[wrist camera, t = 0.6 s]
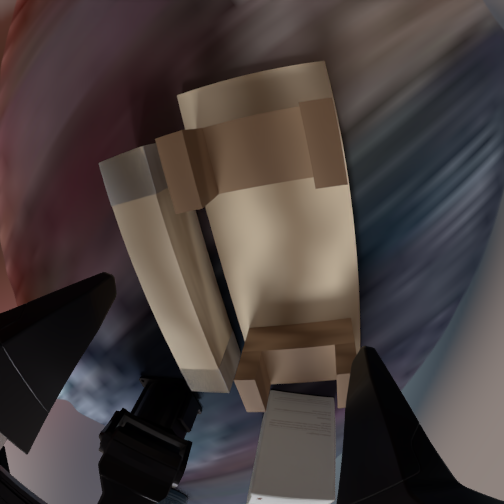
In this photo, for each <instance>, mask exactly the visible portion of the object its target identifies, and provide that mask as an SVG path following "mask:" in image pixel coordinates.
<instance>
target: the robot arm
mask: <svg viewBox="0 0 504 504" xmlns="http://www.w3.org/2000/svg"><path fill="white" fill-rule="evenodd" d="M115 297H116V285H115V278H114V276H113V275H112V274H109V273H106V272H103V273H100V274H97V275H95V276H92V277H90V278H87V279H84V280H82V281H79V282H77V283H74V284H72V285H69V286H67V287H64V288H62V289H59V290H57V291H54V292H52V293H50V294H47V295H45V296H42V297H40V298H37V299H35V300H33V301H30V302H28V303H27V304H23V305H21V306H18V307H16V308H13V309H11V310H9V311H6V312H3V313H0V504H47V503H46V502H45V501H43V500H42V499H41V498H39V497H38V496H37V495H35V494H34V493H33V492H31V491H30V490H29V489H28V488H26V487H25V486H24V485H23V484H21V483H20V482H19V481H18V480H17V479H15V478H14V477H13V476H12V475H11V474H10V471H9V466H8V462H7V457H6V452H5V447H4V446H3V445H4V443H5V442H6V440H7V439H8V440H9V441H11V442H12V443H13V444H14V445H15V446H17V447H18V448H19V449H20V450H22V451H23V452H24V453H25V454H28V452H29V451H30V449H31V446H32V445H33V443H34V441H35V439H36V437H37V435H38V433H39V431H40V429H41V427H42V425H43V423H44V421H45V419H46V417H47V416H48V413H49V412H50V410H51V408H52V406H53V404H54V402H55V401H56V399H57V397H58V396H59V394H60V392H61V390H62V389H63V387H64V385H65V383H66V382H67V380H68V378H69V377H70V375H71V373H72V372H73V370H74V368H75V367H76V365H77V363H78V362H79V360H80V358H81V357H82V355H83V354H84V352H85V350H86V349H87V347H88V346H89V344H90V343H91V341H92V339H93V338H94V336H95V335H96V333H97V332H98V330H99V328H100V326H101V325H102V323H103V321H104V319H105V317H106V315H107V313H108V311H109V309H110V307H111V305H112V303H113V302H114V300H115ZM139 380H140V382H141V383H142V385H143V387H144V389H143V391H142V393H141V395H140V397H139V398H138V400H137V402H136V404H135V406H134V407H133V409H132V411H131V413H130V412H128V411H127V410H126V409H124V408H122V410H121V411H116V412H115V413H114V415H113V417H112V418H111V420H110V421H109V423H108V424H107V425H106V426H105V428H104V429H103V430H102V431H101V433H100V434H99V438H100V441H101V442H100V448H99V451H100V452H102V453H103V455H102V457H101V459H100V461H99V464H98V466H99V474H100V480H101V487H102V495H101V497H100V500H99V502H98V504H156V503H158V502H160V501H162V500H163V499H165V498H166V497H167V495H168V493H169V491H170V489H171V487H174V488H175V487H177V485H178V484H179V482H180V480H181V478H182V476H183V474H184V471H185V468H186V465H187V461H188V457H189V453H190V450H191V446H192V442H191V441H189V440H188V441H187V440H184V438H185V435H186V433H187V432H190V431H191V429H192V426H193V423H194V421H195V418H196V416H197V414H201V412H202V409H201V407H200V406H199V404H198V402H197V401H196V399H195V397H194V395H193V393H192V392H191V390H190V388H189V386H188V384H187V383H186V381H185V380H183V379H173V378H159V377H148V376H141V377H140V378H139ZM337 504H504V501H501V500H498V499H495V498H492V497H490V496H487V495H484V494H482V493H479V492H477V491H474V490H472V489H469V488H467V487H465V486H463V485H462V484H460V483H459V482H458V481H457V480H456V479H455V477H454V476H453V475H452V473H451V472H450V470H449V469H448V467H447V466H446V465H445V463H444V461H443V460H442V459H441V457H440V456H439V454H438V453H437V451H436V450H435V448H434V447H433V445H432V444H431V442H430V440H429V439H428V437H427V435H426V434H425V432H424V430H423V428H422V427H421V425H420V424H419V421H418V420H417V418H416V416H415V415H414V413H413V411H412V409H411V408H410V406H409V404H408V402H407V401H406V399H405V397H404V396H403V394H402V392H401V391H400V389H399V387H398V386H397V384H396V382H395V381H394V379H393V377H392V376H391V374H390V372H389V371H388V369H387V368H386V366H385V364H384V363H383V361H382V360H381V358H380V356H379V355H378V353H377V352H376V350H375V349H374V348H373V347H368V346H363V347H361V349H360V350H359V352H358V353H357V355H356V357H355V358H354V360H353V362H352V365H351V371H350V378H349V385H348V392H347V398H346V407H345V424H344V439H343V452H342V463H341V473H340V481H339V490H338V497H337Z"/></svg>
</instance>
